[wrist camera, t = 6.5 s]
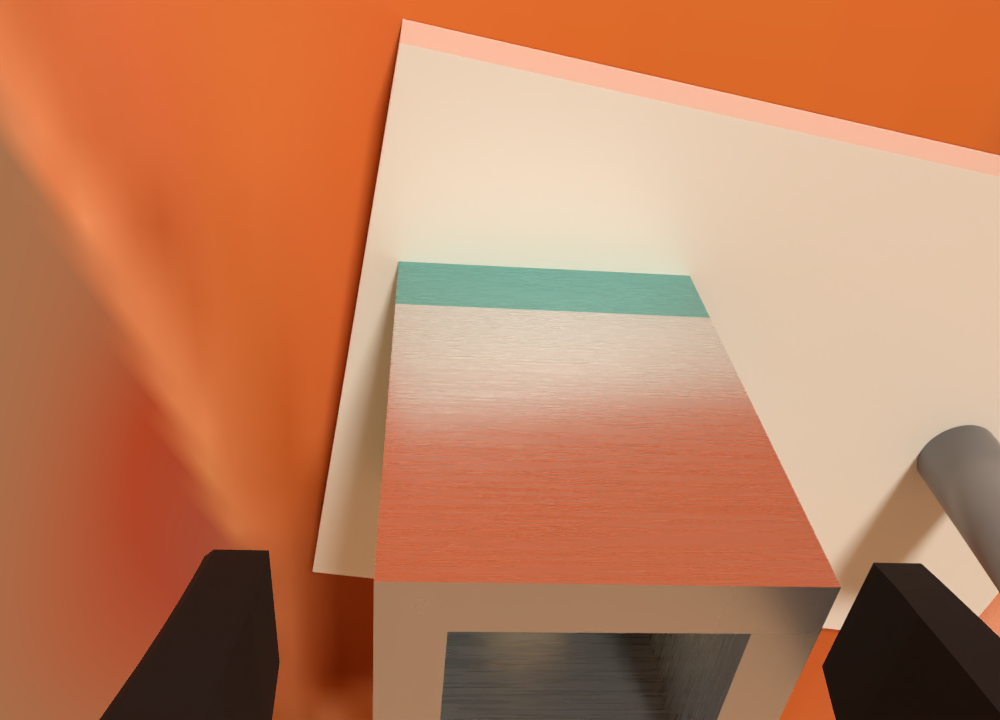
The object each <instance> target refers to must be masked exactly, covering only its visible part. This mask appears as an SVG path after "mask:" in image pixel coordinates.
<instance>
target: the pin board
mask: <svg viewBox="0 0 1000 720" xmlns="http://www.w3.org/2000/svg"><path fill="white" fill-rule="evenodd" d="M399 261H402V262H423V263H443V264H463V265H483V266H504V267H524V268H544V269H565V270H585V271H605V272H625V273H646V274H666V275H686V276H690V277H691V279H692V282H693V284H694V286H695V288H696V290H697V292H698V294H699V296H700V298H701V300H702V302H703V304H704V306H705V308H706V310H707V312H708V314H709V316H710V319H711V321H712V323H713V325H714V327H715V329H716V331H717V333H718V335H719V337H720V339H721V341H722V343H723V345H724V347H725V349H726V351H727V354H728V356H729V358H730V360H731V362H732V364H733V366H734V368H735V370H736V372H737V374H738V376H739V378H740V380H741V382H742V384H743V386H744V388H745V391H746V393H747V395H748V397H749V399H750V401H751V403H752V405H753V407H754V409H755V411H756V413H757V415H758V417H759V419H760V421H761V423H762V425H763V428H764V430H765V432H766V434H767V436H768V438H769V440H770V442H771V444H772V446H773V448H774V450H775V452H776V454H777V456H778V458H779V460H780V463H781V465H782V467H783V469H784V471H785V473H786V475H787V477H788V479H789V481H790V483H791V485H792V487H793V489H794V491H795V493H796V495H797V497H798V500H799V502H800V504H801V506H802V508H803V510H804V512H805V514H806V516H807V518H808V520H809V522H810V524H811V526H812V528H813V530H814V532H815V534H816V537H817V539H818V541H819V543H820V545H821V547H822V549H823V551H824V553H825V555H826V557H827V559H828V561H829V563H830V565H831V567H832V569H833V572H834V574H835V576H836V578H837V580H838V582H839V584H840V586H841V589H840V591H839V593H838V595H837V597H836V600H835V602H834V604H833V606H832V608H831V610H830V612H829V614H828V617H827V619H826V621H825V623H824V625H823V627H822V628H827V629H836V630H840V629H841V627H842V625H843V623H844V621H845V619H846V617H847V615H848V613H849V611H850V609H851V607H852V605H853V603H854V601H855V599H856V597H857V595H858V593H859V591H860V589H861V587H862V585H863V583H864V581H865V579H866V577H867V575H868V573H869V571H870V569H871V567H872V565H873V563H921V564H922V565H924V566H925V567H926V568H927V569H928V570H929V571H930V572H931V573H932V574H933V575H935V576H936V577H937V578H938V579H939V580H940V581H941V582H942V583H943V584H944V585H945V586H946V587H947V588H949V589H950V590H951V591H952V592H953V593H954V594H955V595H956V596H957V597H958V598H959V599H960V600H961V601H962V602H963V603H964V604H965V605H966V606H967V607H968V608H970V609H971V610H972V611H973V612H974V613H975V614H976V615H977V616H978V617H979V616H980V614H981V613H982V612H983V611H984V610H985V609H986V607H987V606H988V605H989V604H990V603H991V601H992V600H993V599H994V598H995V597H996V595H997V594H998V593H1000V155H995V154H991V153H986V152H982V151H978V150H973V149H969V148H965V147H960V146H956V145H952V144H947V143H943V142H938V141H934V140H930V139H925V138H921V137H917V136H912V135H908V134H903V133H899V132H895V131H890V130H886V129H882V128H877V127H873V126H869V125H864V124H860V123H855V122H851V121H847V120H842V119H838V118H834V117H829V116H825V115H820V114H816V113H812V112H807V111H803V110H799V109H794V108H790V107H786V106H781V105H777V104H772V103H768V102H764V101H759V100H755V99H751V98H746V97H742V96H738V95H733V94H729V93H724V92H720V91H716V90H711V89H707V88H703V87H698V86H694V85H689V84H685V83H681V82H676V81H672V80H668V79H663V78H659V77H655V76H650V75H646V74H641V73H637V72H633V71H628V70H624V69H620V68H615V67H611V66H606V65H602V64H598V63H593V62H589V61H585V60H580V59H576V58H572V57H567V56H563V55H558V54H554V53H550V52H545V51H541V50H537V49H532V48H528V47H523V46H519V45H515V44H510V43H506V42H502V41H497V40H493V39H489V38H484V37H480V36H475V35H471V34H467V33H462V32H458V31H454V30H449V29H445V28H441V27H436V26H432V25H427V24H423V23H419V22H414V21H410V20H406V19H403V21H402V27H401V33H400V39H399V45H398V51H397V57H396V63H395V70H394V76H393V82H392V88H391V94H390V100H389V106H388V112H387V118H386V124H385V130H384V136H383V143H382V149H381V155H380V161H379V167H378V173H377V179H376V185H375V191H374V197H373V203H372V209H371V216H370V222H369V228H368V234H367V240H366V246H365V252H364V258H363V264H362V270H361V276H360V283H359V289H358V295H357V301H356V307H355V313H354V319H353V325H352V331H351V337H350V343H349V349H348V356H347V362H346V368H345V374H344V380H343V386H342V392H341V398H340V404H339V410H338V416H337V423H336V429H335V435H334V441H333V447H332V453H331V459H330V465H329V471H328V477H327V483H326V489H325V496H324V502H323V508H322V514H321V520H320V526H319V532H318V539H317V545H316V552H315V558H314V565H313V571H312V572H318V573H327V574H336V575H345V576H354V577H363V578H373V579H374V572H375V559H376V546H377V533H378V520H379V507H380V495H381V482H382V469H383V456H384V443H385V431H386V418H387V405H388V392H389V379H390V367H391V354H392V341H393V328H394V315H395V302H396V290H397V277H398V264H399Z"/></svg>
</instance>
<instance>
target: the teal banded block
mask: <svg viewBox="0 0 1000 720" xmlns="http://www.w3.org/2000/svg"><path fill="white" fill-rule="evenodd" d="M840 589H841V586H840V584H839V582H838V580H837V578H836V576H835V574H834V572H833V569H832V567H831V565H830V563H829V561H828V559H827V557H826V555H825V553H824V551H823V549H822V547H821V545H820V543H819V541H818V539H817V537H816V534H815V532H814V530H813V528H812V526H811V524H810V522H809V520H808V518H807V516H806V514H805V512H804V510H803V508H802V506H801V504H800V502H799V500H798V497H797V495H796V493H795V491H794V489H793V487H792V485H791V483H790V481H789V479H788V477H787V475H786V473H785V471H784V469H783V467H782V465H781V463H780V460H779V458H778V456H777V454H776V452H775V450H774V448H773V446H772V444H771V442H770V440H769V438H768V436H767V434H766V432H765V430H764V428H763V425H762V423H761V421H760V419H759V417H758V415H757V413H756V411H755V409H754V407H753V405H752V403H751V401H750V399H749V397H748V395H747V393H746V391H745V388H744V386H743V384H742V382H741V380H740V378H739V376H738V374H737V372H736V370H735V368H734V366H733V364H732V362H731V360H730V358H729V356H728V354H727V351H726V349H725V347H724V345H723V343H722V341H721V339H720V337H719V335H718V333H717V331H716V329H715V327H714V325H713V323H712V321H711V319H710V316H709V314H708V312H707V310H706V308H705V306H704V304H703V302H702V300H701V298H700V296H699V294H698V292H697V290H696V288H695V286H694V284H693V282H692V279H691V277H690V276H686V275H666V274H646V273H625V272H605V271H585V270H565V269H544V268H524V267H504V266H483V265H463V264H443V263H423V262H402V261H399V264H398V277H397V290H396V302H395V315H394V328H393V341H392V354H391V367H390V379H389V392H388V405H387V418H386V431H385V443H384V456H383V469H382V482H381V495H380V507H379V520H378V533H377V546H376V559H375V572H374V617H373V720H779V719H780V716H781V714H782V712H783V710H784V708H785V706H786V704H787V702H788V699H789V697H790V695H791V693H792V691H793V689H794V687H795V685H796V682H797V680H798V678H799V676H800V674H801V672H802V670H803V668H804V665H805V663H806V661H807V659H808V657H809V655H810V653H811V651H812V648H813V646H814V644H815V642H816V640H817V638H818V636H819V634H820V631H821V629H822V627H823V625H824V623H825V621H826V619H827V617H828V614H829V612H830V610H831V608H832V606H833V604H834V602H835V600H836V597H837V595H838V593H839V591H840Z"/></svg>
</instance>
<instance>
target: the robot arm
mask: <svg viewBox="0 0 1000 720" xmlns="http://www.w3.org/2000/svg"><path fill="white" fill-rule="evenodd" d="M822 667H823V671H824V675H825V679H826V683H827V687H828V691H829V695H830V699H831V703H832V707H833V711H834V714H835V718H836V720H1000V637H999V636H998V635H997V634H995V633H994V632H993V631H992V630H991V629H990V628H989V627H988V626H987V625H986V624H985V623H984V622H983V621H982V620H981V619H980V618H979V617H978V616H977V615H976V614H975V613H974V612H973V611H972V610H971V609H970V608H968V607H967V606H966V605H965V604H964V603H963V602H962V601H961V600H960V599H959V598H958V597H957V596H956V595H955V594H954V593H953V592H952V591H951V590H950V589H949V588H947V587H946V586H945V585H944V584H943V583H942V582H941V581H940V580H939V579H938V578H937V577H936V576H935V575H933V574H932V573H931V572H930V571H929V570H928V569H927V568H926V567H925V566H924V565H922V564H921V563H873V565H872V567H871V569H870V571H869V573H868V575H867V577H866V579H865V581H864V583H863V585H862V587H861V589H860V591H859V593H858V595H857V597H856V599H855V601H854V603H853V605H852V607H851V609H850V611H849V613H848V615H847V617H846V619H845V621H844V623H843V625H842V627H841V629H840V631H839V633H838V635H837V637H836V639H835V641H834V643H833V646H832V648H831V650H830V652H829V654H828V656H827V658H826V660H825V662H824V664H823V666H822ZM278 669H279V653H278V642H277V632H276V622H275V611H274V601H273V590H272V580H271V570H270V559H269V551H260V550H213V551H212V552H210V553H209V554H208V555H206V556H205V557H204V559H203V560H202V562H201V564H200V566H199V568H198V570H197V571H196V573H195V575H194V577H193V579H192V580H191V582H190V583H189V585H188V587H187V589H186V590H185V592H184V594H183V595H182V597H181V599H180V600H179V602H178V604H177V605H176V607H175V608H174V610H173V612H172V613H171V615H170V616H169V618H168V620H167V621H166V623H165V624H164V626H163V628H162V629H161V631H160V632H159V634H158V635H157V637H156V638H155V640H154V641H153V643H152V645H151V646H150V647H149V649H148V651H147V652H146V654H145V655H144V657H143V658H142V660H141V661H140V663H139V664H138V666H137V667H136V669H135V670H134V671H133V673H132V674H131V676H130V677H129V678H128V680H127V681H126V683H125V684H124V686H123V687H122V688H121V690H120V691H119V693H118V694H117V696H116V697H115V698H114V700H113V701H112V703H111V704H110V706H109V707H108V708H107V710H106V711H105V713H104V714H103V716H102V717H101V718H100V720H272V714H273V707H274V699H275V692H276V684H277V677H278Z"/></svg>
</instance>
